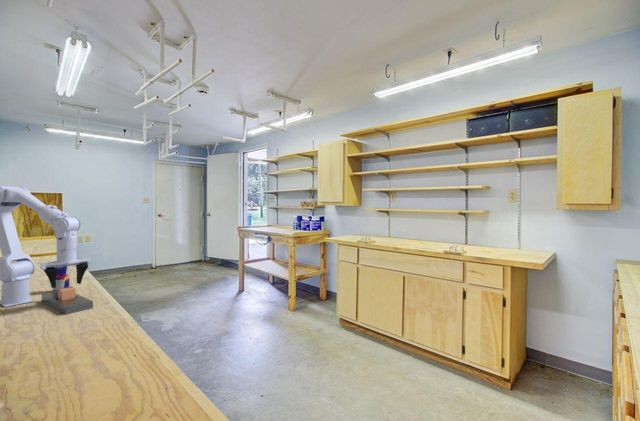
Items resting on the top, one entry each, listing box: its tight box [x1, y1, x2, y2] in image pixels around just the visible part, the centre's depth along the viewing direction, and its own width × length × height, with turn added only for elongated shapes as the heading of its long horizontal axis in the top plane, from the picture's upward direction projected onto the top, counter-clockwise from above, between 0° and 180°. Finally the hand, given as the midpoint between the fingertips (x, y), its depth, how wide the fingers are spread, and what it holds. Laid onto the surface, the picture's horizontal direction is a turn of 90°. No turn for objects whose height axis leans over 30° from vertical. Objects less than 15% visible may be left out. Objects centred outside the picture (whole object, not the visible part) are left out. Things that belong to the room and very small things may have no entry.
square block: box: [58, 286, 76, 301], centre depth 114 cm, size 4×4×6 cm
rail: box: [41, 292, 94, 315], centre depth 114 cm, size 24×8×2 cm, turn 57°
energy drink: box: [52, 264, 70, 293], centre depth 131 cm, size 5×5×12 cm
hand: (66, 285), depth 114 cm, fingers open, 7 cm apart
